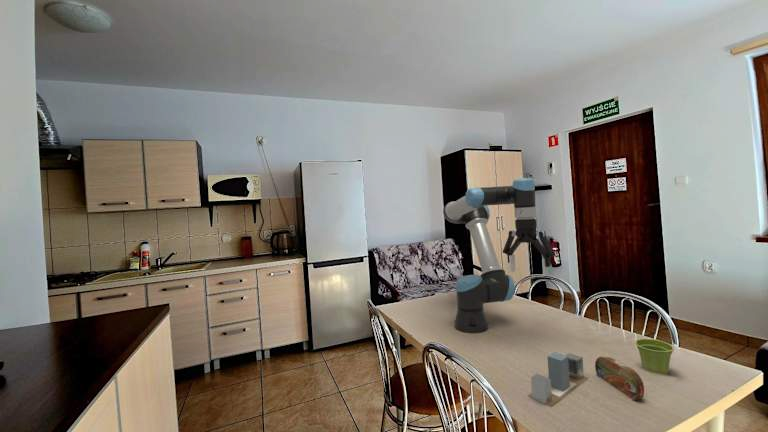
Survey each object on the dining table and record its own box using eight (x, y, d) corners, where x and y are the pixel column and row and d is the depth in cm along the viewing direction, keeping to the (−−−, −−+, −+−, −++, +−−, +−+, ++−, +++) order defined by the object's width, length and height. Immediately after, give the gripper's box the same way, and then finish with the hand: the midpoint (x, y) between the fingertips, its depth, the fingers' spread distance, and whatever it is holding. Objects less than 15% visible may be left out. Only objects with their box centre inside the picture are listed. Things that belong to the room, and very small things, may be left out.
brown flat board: (527, 400, 92) (527, 395, 92) (565, 373, 104) (565, 369, 104) (552, 411, 86) (551, 406, 86) (589, 382, 99) (589, 377, 99)
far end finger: (564, 375, 101) (563, 356, 101) (570, 371, 103) (569, 353, 103) (578, 380, 98) (577, 361, 98) (583, 376, 100) (582, 357, 100)
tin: (594, 378, 101) (593, 352, 100) (604, 377, 101) (602, 351, 101) (636, 407, 86) (635, 376, 85) (647, 406, 86) (646, 375, 86)
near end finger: (532, 398, 91) (531, 377, 91) (539, 393, 93) (538, 372, 93) (546, 404, 87) (545, 382, 87) (553, 399, 89) (551, 378, 89)
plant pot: (678, 382, 96) (677, 353, 96) (638, 375, 101) (637, 347, 101) (671, 368, 104) (670, 341, 103) (634, 362, 109) (633, 336, 108)
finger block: (549, 386, 96) (547, 356, 96) (557, 380, 99) (555, 351, 98) (563, 391, 93) (561, 360, 92) (571, 385, 95) (569, 355, 95)
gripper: (492, 219, 132) (495, 271, 133) (552, 218, 112) (556, 279, 112) (503, 218, 137) (506, 268, 137) (563, 217, 116) (566, 275, 117)
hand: (528, 273), depth 125 cm, fingers open, 13 cm apart
